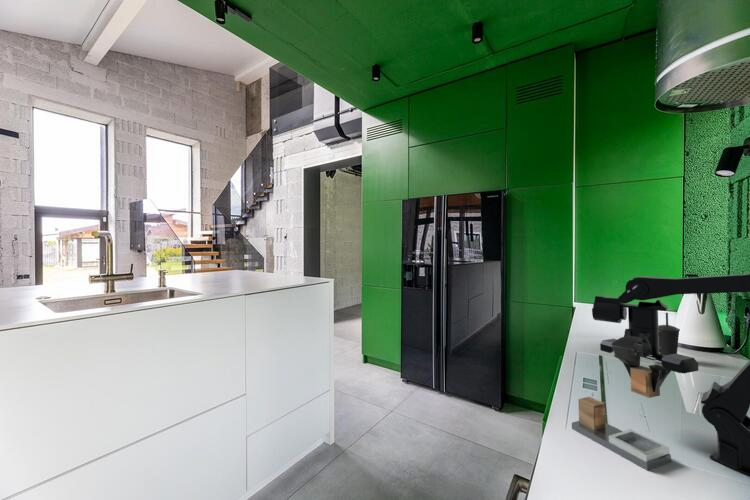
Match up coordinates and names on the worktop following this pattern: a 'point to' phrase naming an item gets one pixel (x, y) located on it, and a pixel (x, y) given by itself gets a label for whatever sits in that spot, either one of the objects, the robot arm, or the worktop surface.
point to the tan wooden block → (642, 381)
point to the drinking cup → (668, 338)
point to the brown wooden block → (592, 413)
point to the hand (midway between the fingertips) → (645, 388)
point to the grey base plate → (628, 445)
